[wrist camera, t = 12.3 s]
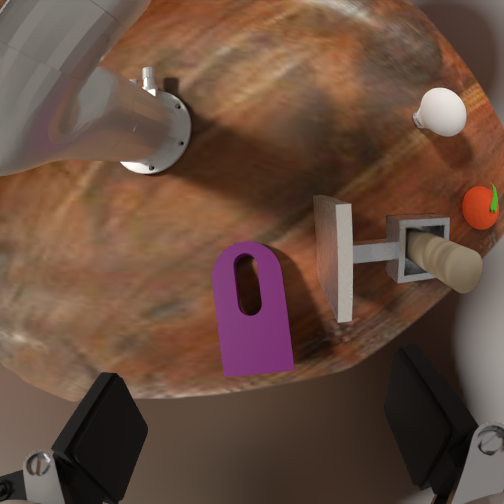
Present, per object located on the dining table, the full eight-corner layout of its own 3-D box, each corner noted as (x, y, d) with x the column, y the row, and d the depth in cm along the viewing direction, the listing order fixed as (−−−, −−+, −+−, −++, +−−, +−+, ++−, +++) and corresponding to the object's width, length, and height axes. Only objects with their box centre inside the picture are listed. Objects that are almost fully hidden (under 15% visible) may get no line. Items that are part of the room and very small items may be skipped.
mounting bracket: (222, 257, 48) (235, 365, 44) (209, 247, 40) (224, 376, 36) (279, 249, 47) (293, 358, 43) (277, 236, 39) (294, 369, 35)
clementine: (460, 172, 36) (486, 174, 29) (486, 187, 36) (511, 191, 29) (449, 218, 38) (475, 226, 31) (475, 230, 38) (500, 239, 31)
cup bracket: (312, 195, 39) (335, 204, 25) (408, 190, 38) (463, 199, 24) (317, 277, 42) (337, 322, 28) (408, 267, 41) (455, 302, 27)
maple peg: (399, 228, 31) (454, 252, 20) (426, 227, 31) (484, 248, 19) (398, 260, 32) (449, 296, 21) (425, 258, 32) (479, 290, 20)
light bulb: (419, 149, 36) (460, 144, 25) (391, 115, 35) (427, 99, 24) (441, 125, 34) (482, 116, 24) (415, 92, 33) (452, 73, 23)
